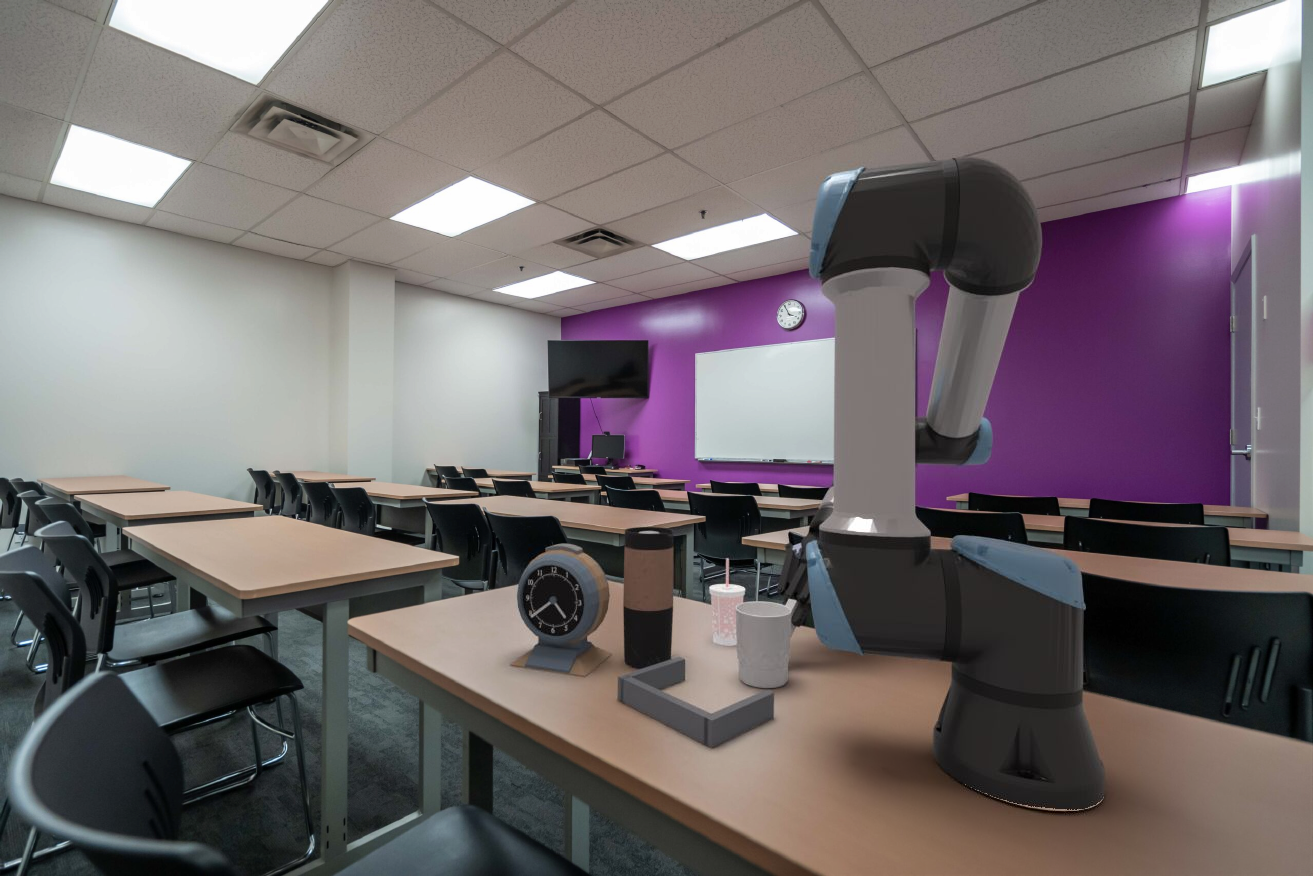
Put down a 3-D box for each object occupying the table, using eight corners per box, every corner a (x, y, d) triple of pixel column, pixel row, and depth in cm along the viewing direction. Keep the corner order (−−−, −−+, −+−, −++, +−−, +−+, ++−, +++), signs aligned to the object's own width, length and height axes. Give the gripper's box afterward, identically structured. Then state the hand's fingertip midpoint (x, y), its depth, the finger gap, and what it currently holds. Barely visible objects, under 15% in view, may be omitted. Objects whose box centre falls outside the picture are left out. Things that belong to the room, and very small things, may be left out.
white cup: (725, 672, 87) (725, 603, 87) (771, 666, 90) (772, 599, 90) (752, 694, 79) (753, 618, 80) (802, 686, 82) (803, 613, 82)
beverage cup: (751, 640, 101) (752, 558, 102) (732, 649, 97) (733, 563, 97) (721, 633, 105) (722, 553, 105) (701, 641, 101) (702, 558, 101)
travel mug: (616, 655, 93) (618, 527, 94) (661, 650, 96) (663, 526, 96) (631, 673, 86) (633, 534, 86) (680, 666, 89) (681, 532, 89)
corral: (679, 677, 85) (679, 656, 85) (773, 717, 73) (774, 692, 73) (617, 699, 77) (617, 676, 77) (711, 748, 65) (712, 720, 65)
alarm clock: (504, 665, 89) (506, 546, 89) (537, 644, 98) (539, 537, 98) (591, 678, 84) (593, 552, 84) (618, 655, 93) (619, 542, 94)
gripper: (883, 538, 97) (826, 667, 85) (814, 529, 106) (754, 644, 95) (867, 508, 93) (805, 638, 82) (796, 501, 103) (732, 617, 91)
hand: (778, 641), depth 88 cm, fingers closed
